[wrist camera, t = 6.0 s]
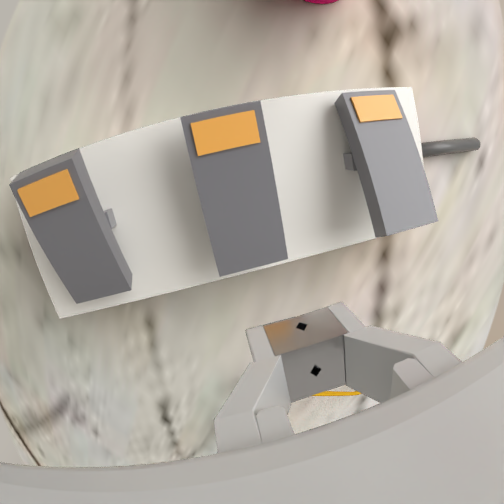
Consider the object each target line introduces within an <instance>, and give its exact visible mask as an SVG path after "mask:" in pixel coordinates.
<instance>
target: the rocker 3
mask: <svg viewBox="0 0 504 504" xmlns="http://www.w3.org/2000/svg"><path fill="white" fill-rule="evenodd" d="M334 104H335V106H336V109H337V112H338V114H339V117H340V120H341V123H342V126H343V129H344V131H345V134H346V137H347V140H348V143H349V146H350V149H351V152H352V155H353V159H354V162H355V165H356V168H357V172H358V175H359V178H360V182H361V185H362V188H363V192H364V195H365V199H366V203H367V206H368V210H369V214H370V218H371V221H372V225H373V229H374V233H375V237H383V236H388V235H392V234H395V233H399V232H402V231H406V230H409V229H413V228H416V227H420V226H423V225H427V224H430V223H434V222H437V221H438V218H437V214H436V210H435V206H434V202H433V199H432V195H431V191H430V188H429V184H428V181H427V177H426V174H425V171H424V167H423V164H422V161H421V158H420V155H419V152H418V149H417V146H416V143H415V140H414V137H413V134H412V132H411V129H410V126H409V124H408V121H407V118H406V116H405V113H404V111H403V108H402V106H401V103H400V101H399V98H398V96H397V94H396V91H395V90H376V91H358V92H345V93H341V95H340V96H339V97H338V99H337V100H336V102H335V103H334Z"/></svg>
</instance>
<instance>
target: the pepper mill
mask: <svg viewBox="0 0 504 504" xmlns="http://www.w3.org/2000/svg"><path fill="white" fill-rule="evenodd" d="M305 1H308V2H311V3H317V4H328V3H333V2H336V1H338V0H305Z"/></svg>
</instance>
